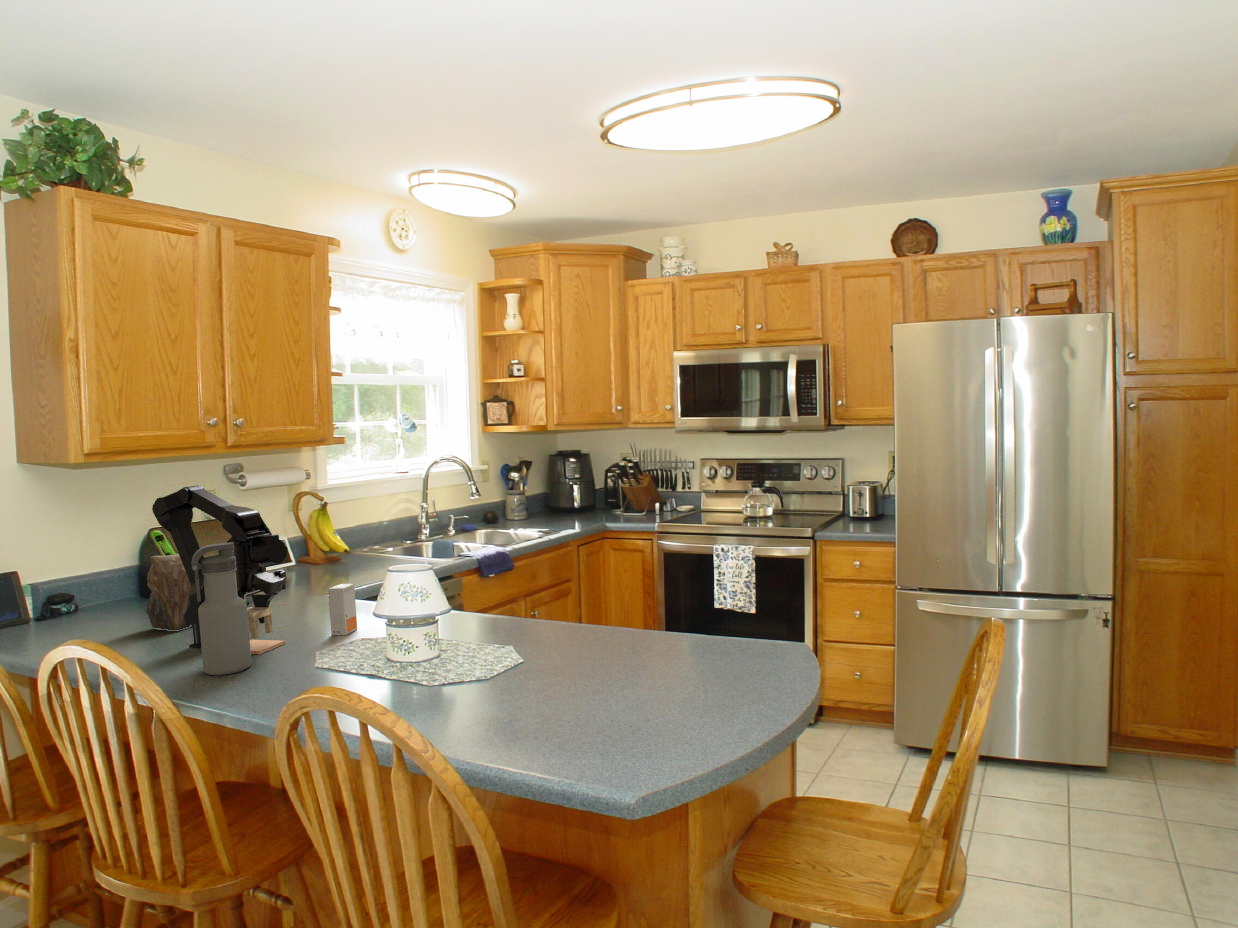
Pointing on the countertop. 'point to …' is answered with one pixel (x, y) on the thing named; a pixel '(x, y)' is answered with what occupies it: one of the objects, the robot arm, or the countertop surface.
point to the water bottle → (221, 612)
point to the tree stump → (168, 592)
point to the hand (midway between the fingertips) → (253, 626)
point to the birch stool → (253, 622)
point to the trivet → (264, 645)
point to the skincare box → (342, 609)
